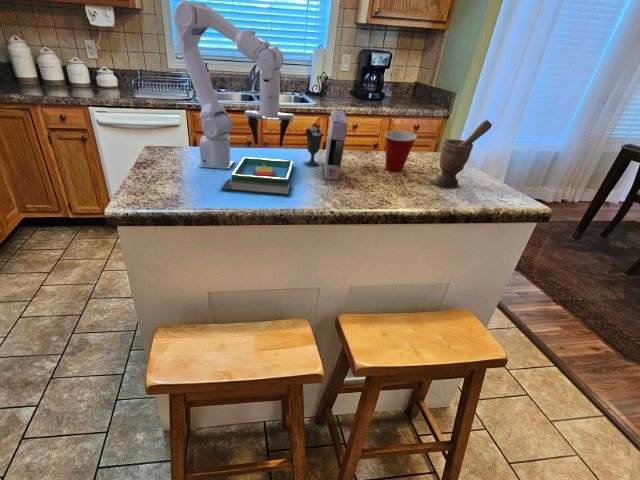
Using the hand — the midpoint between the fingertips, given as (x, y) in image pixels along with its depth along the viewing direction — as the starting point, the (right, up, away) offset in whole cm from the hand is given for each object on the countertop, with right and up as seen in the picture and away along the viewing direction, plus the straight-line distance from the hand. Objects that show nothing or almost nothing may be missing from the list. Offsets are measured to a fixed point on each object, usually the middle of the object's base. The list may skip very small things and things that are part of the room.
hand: (268, 145), depth 119 cm
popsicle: (-2, -7, +5) cm, 9 cm away
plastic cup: (+44, -2, +16) cm, 46 cm away
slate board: (-3, -16, -8) cm, 18 cm away
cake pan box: (+21, -6, +10) cm, 24 cm away
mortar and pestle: (+59, -11, +5) cm, 61 cm away
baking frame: (-2, -7, +5) cm, 9 cm away
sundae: (+15, 0, +16) cm, 22 cm away
